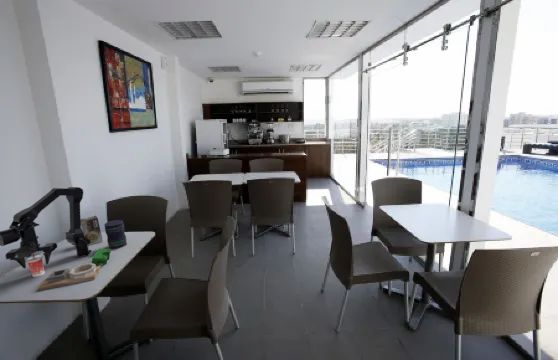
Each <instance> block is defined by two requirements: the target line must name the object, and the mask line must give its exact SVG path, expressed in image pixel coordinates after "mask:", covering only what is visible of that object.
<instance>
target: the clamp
mask: <svg viewBox="0 0 558 360" xmlns="http://www.w3.org/2000/svg"><path fill="white" fill-rule="evenodd" d="M111 252H112V249H109V248H98V249H97V251H96V253H94V255H93V257H92V259H91V263H93V264H96V265H107V263H108V260H110V258H111V257H110V256H111Z"/></svg>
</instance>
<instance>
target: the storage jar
mask: <svg viewBox="0 0 558 360" xmlns="http://www.w3.org/2000/svg"><path fill="white" fill-rule="evenodd" d="M104 231H105V234H106V237H107V240H106V241H107V245H108V249H110V250H118V249H119V250H120V249H122V248H124V247H126V246H128V242H127V236H126V233H125V225H124V220H123V219H116V220H115V219H114V220H111V221H107V222H105V223H104Z"/></svg>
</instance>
